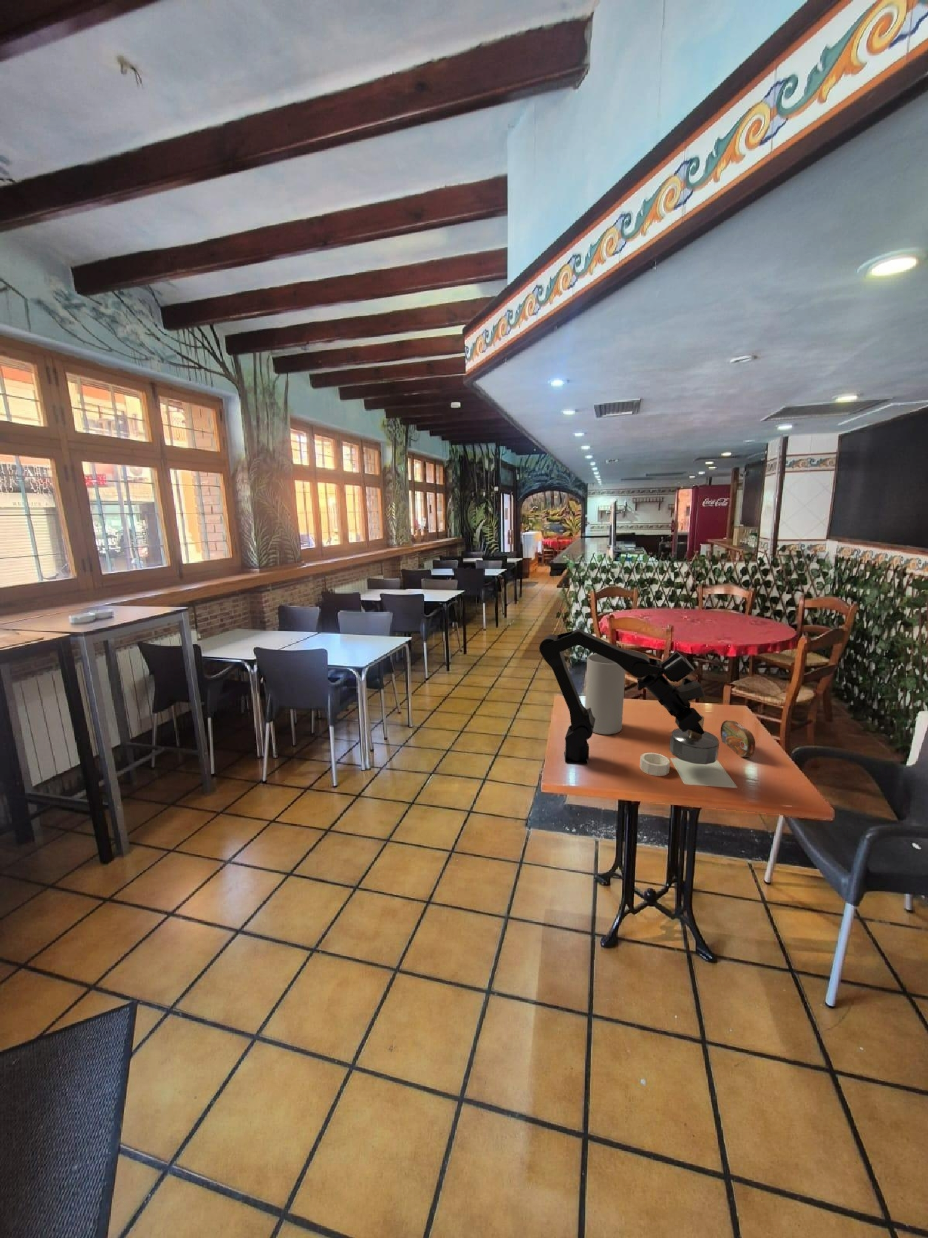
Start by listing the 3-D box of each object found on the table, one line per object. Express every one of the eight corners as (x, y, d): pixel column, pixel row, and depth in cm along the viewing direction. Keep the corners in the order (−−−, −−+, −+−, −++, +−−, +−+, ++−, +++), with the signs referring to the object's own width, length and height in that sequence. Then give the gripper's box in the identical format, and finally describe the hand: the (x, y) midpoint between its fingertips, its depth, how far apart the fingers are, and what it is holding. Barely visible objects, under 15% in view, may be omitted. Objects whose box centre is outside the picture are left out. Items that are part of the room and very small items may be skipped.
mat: (684, 785, 134) (684, 784, 134) (669, 759, 148) (670, 757, 148) (737, 789, 132) (737, 787, 132) (717, 762, 146) (717, 760, 146)
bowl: (643, 776, 139) (644, 765, 138) (637, 762, 146) (638, 751, 146) (671, 778, 138) (672, 766, 137) (664, 764, 145) (665, 753, 144)
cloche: (676, 762, 134) (680, 724, 132) (665, 742, 146) (669, 707, 144) (723, 765, 133) (728, 727, 130) (708, 745, 144) (712, 709, 142)
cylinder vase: (617, 721, 176) (621, 653, 171) (625, 736, 164) (629, 664, 159) (582, 719, 177) (585, 653, 172) (587, 734, 165) (590, 663, 160)
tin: (718, 740, 161) (721, 716, 159) (728, 739, 161) (730, 715, 159) (744, 762, 146) (747, 736, 144) (755, 762, 146) (758, 736, 144)
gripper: (697, 684, 126) (738, 727, 127) (677, 662, 144) (713, 700, 145) (662, 710, 129) (702, 752, 129) (647, 686, 147) (682, 723, 147)
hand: (700, 730), depth 138 cm, fingers closed on cloche, 4 cm apart
